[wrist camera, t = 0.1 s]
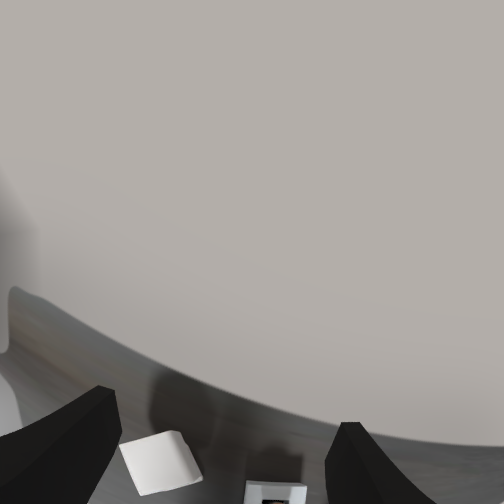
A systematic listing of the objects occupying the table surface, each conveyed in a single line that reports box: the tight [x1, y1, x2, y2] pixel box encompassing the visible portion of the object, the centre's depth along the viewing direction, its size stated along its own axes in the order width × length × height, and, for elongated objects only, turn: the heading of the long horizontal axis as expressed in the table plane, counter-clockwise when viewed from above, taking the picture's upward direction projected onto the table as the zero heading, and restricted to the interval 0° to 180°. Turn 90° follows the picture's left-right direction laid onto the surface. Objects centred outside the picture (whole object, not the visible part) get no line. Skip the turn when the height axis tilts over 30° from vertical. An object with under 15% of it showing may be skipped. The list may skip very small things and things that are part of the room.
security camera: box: [119, 430, 203, 496], centre depth 28 cm, size 6×7×10 cm
